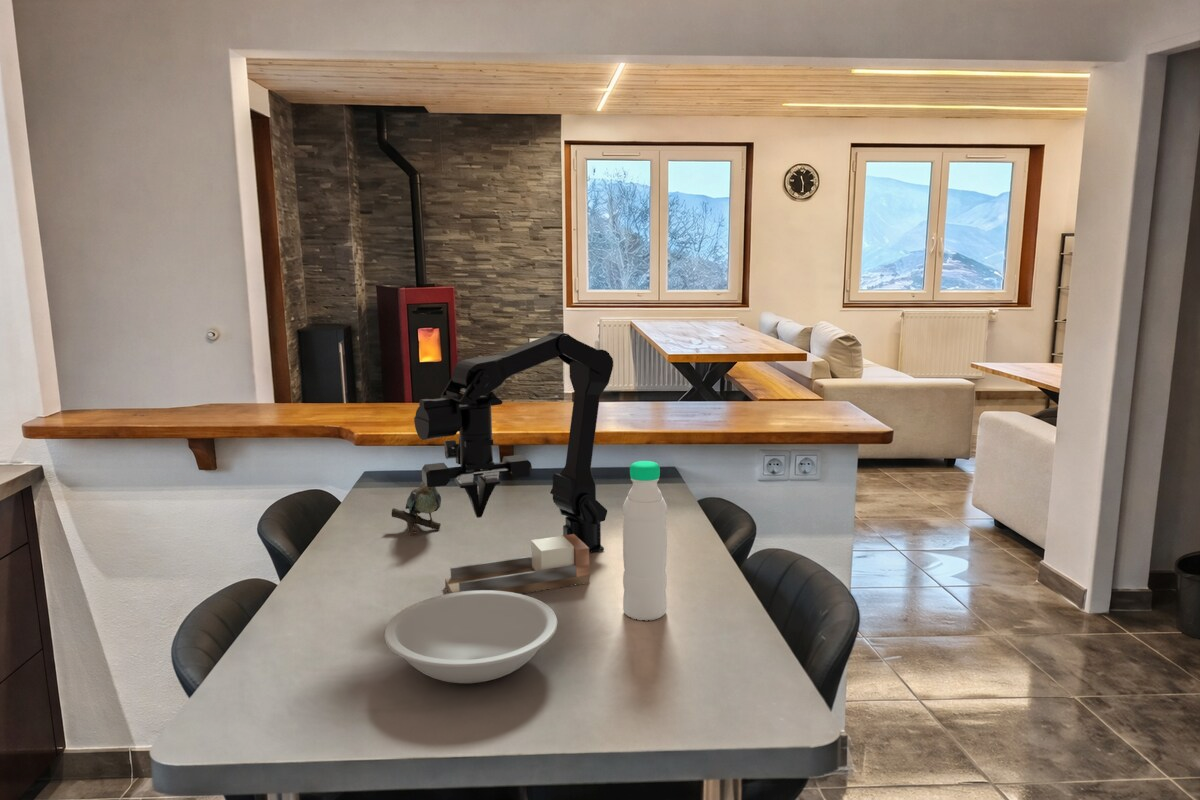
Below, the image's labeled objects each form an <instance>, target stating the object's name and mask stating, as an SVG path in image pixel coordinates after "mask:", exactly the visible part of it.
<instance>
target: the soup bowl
mask: <svg viewBox="0 0 1200 800" xmlns="http://www.w3.org/2000/svg"><path fill="white" fill-rule="evenodd" d="M557 628H558V618H557V616H556V613H555V611H554V610H553V609H552V608H551V607H550V606H549V605H548V604H547V603H545V602H543V601H541V600H539V599H537V598H535V597H532V596H529V595H525V594H518V593H513V592H505V591H493V590H477V591H463V592H455V593H450V594H449V593H445V594H440V595H437V596H433V597H429V598H426V599H423V600H420V601H418V602H415V603H414V604H411V605H409V606H407V607H405V608H404V609H402V610H400V611H399V612H397V613H396V614H395V615H394V616H393V617H392V618H391V619H390V620H389V622H388V623H387V625H386V627H385V630H384V640H385V642H386V645H387V646H388V648H389V649H390V650H391V651H392V652H393V653H395V654H396V655H397V656H399V657H401V658H403V659H405V661H407V663H408V664H410V666H412V668H415V669H416V670H417V671H419V672H421V674H424V675H426V676H429V677H430V678H432V679H436V680H437V681H443V682H447V683H453V684H454V683H455V684H476V683H485V682H488V681H492V680H497V679H499V678H502V677H505V676H507V675H509V674H511V673H514V672H515V671H517V670H518V669H520V668H521V667H524V665H526V664H527V663H528V662H529V661H530V660H531V659H532V658H533V656H534V655H536V653H537V652H538V651H539V650H540V648H542V647H543V646H544V645H547V643H548V642H549V641H550V640H551V639H552V638H553V636H554V635H555V633H556V632H557Z"/></svg>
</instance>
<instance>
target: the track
mask: <svg viewBox="0 0 1200 800" xmlns="http://www.w3.org/2000/svg"><path fill="white" fill-rule="evenodd" d="M561 536H564V537H565V538H566V539H567V540H568V541H569V542H570V543H571V544H572V545H573V546H574V565H571V566H564V567H557V568H551V569H544V570H537V571H535V570H534V568H533V567H532V555H529V556H520V557H514V558H507V559H501V560H500V559H499V560H494V561H486V562H479V563H472V564H464V565H458V566H457V565H456V566H450V569H449V570H450V577H449V578H448V577H447V578H445V579H444V584H445V585H444V586H445V589H446V591H447V594H450V593H455V592H463V591H477V590H493V591H505V592H513V593H518V594H522V593H524V594H528V593H527V592H530V593H535V592H534V591H536V592H541V591H540V590H543V591H547V590H546V589H549V590H554V588H555V589H560V587H562V588H567V587H566V586H568V587H572V586H571V585H574V586H576V585H575V584H580V585H584V584H583V583H587V584H590V583H591V582H590V552H589V547H588V546H586V545H585V544H584V543H583V542H582V541H581V540H580V539H579V538H578V537H577V536H576V535H575V534H570V535H563V534H562V535H561ZM522 595H523V594H522Z"/></svg>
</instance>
